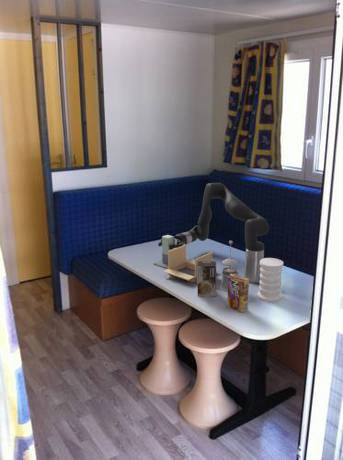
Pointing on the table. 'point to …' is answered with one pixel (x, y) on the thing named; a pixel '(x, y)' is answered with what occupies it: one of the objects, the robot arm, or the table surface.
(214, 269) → the coffee box
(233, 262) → the french press
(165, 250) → the box
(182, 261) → the carton
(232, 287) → the candy box
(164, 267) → the mat
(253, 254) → the robot arm
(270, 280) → the decorative container
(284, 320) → the table surface
